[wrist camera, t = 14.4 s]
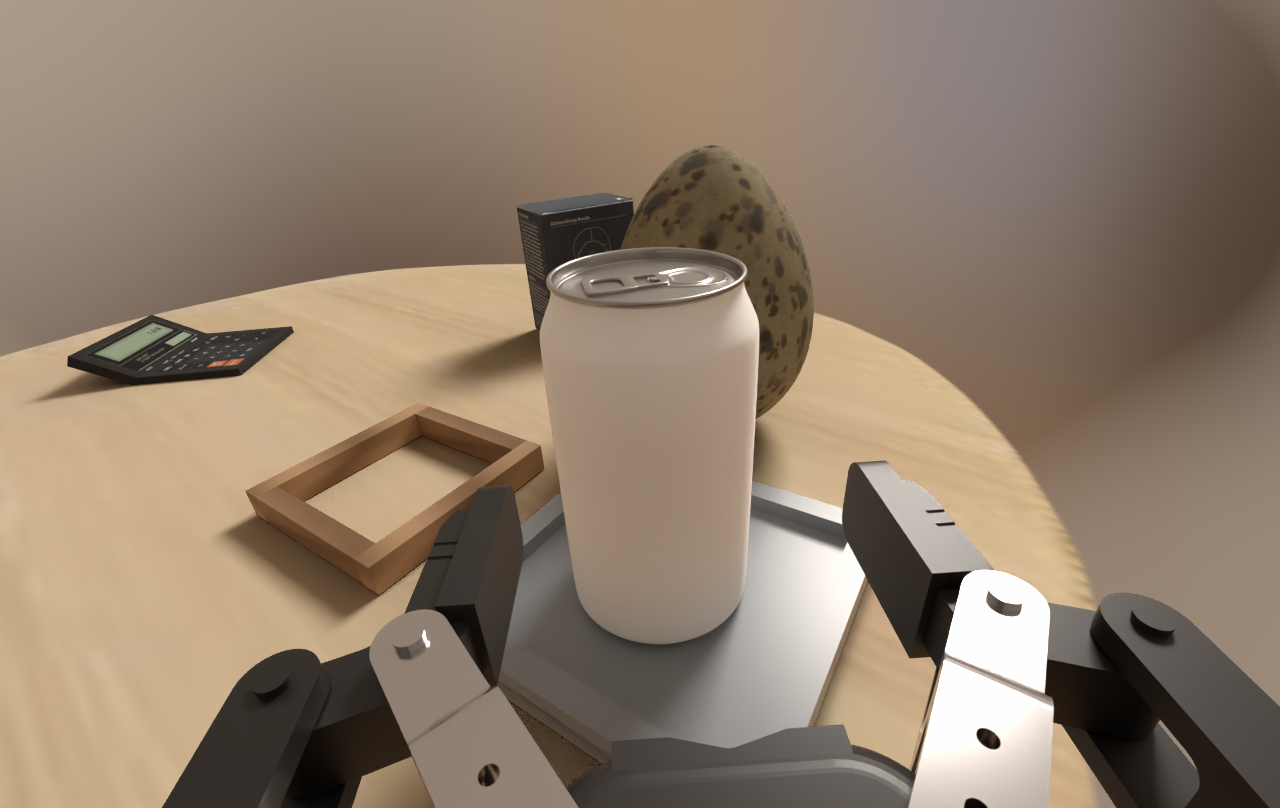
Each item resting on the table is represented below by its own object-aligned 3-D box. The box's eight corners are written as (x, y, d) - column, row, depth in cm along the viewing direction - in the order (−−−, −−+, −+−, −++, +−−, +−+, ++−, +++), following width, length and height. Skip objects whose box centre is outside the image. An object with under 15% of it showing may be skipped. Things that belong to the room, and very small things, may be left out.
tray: (760, 871, 14) (763, 841, 13) (424, 642, 20) (414, 614, 19) (879, 549, 23) (885, 521, 22) (624, 463, 30) (622, 440, 29)
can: (775, 628, 19) (808, 288, 13) (589, 673, 18) (538, 322, 12) (711, 511, 25) (715, 236, 19) (566, 540, 23) (524, 256, 18)
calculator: (242, 378, 43) (227, 342, 42) (83, 393, 42) (61, 356, 41) (295, 335, 51) (283, 304, 50) (162, 346, 50) (146, 315, 49)
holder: (379, 595, 22) (368, 568, 22) (257, 515, 27) (245, 491, 27) (544, 468, 30) (540, 445, 29) (424, 423, 35) (418, 402, 34)
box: (612, 310, 52) (603, 191, 47) (642, 327, 48) (635, 198, 42) (533, 329, 49) (514, 202, 44) (558, 349, 44) (540, 211, 39)
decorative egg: (627, 381, 38) (611, 143, 31) (785, 379, 37) (806, 133, 30) (609, 472, 29) (580, 162, 22) (819, 473, 28) (861, 149, 21)
